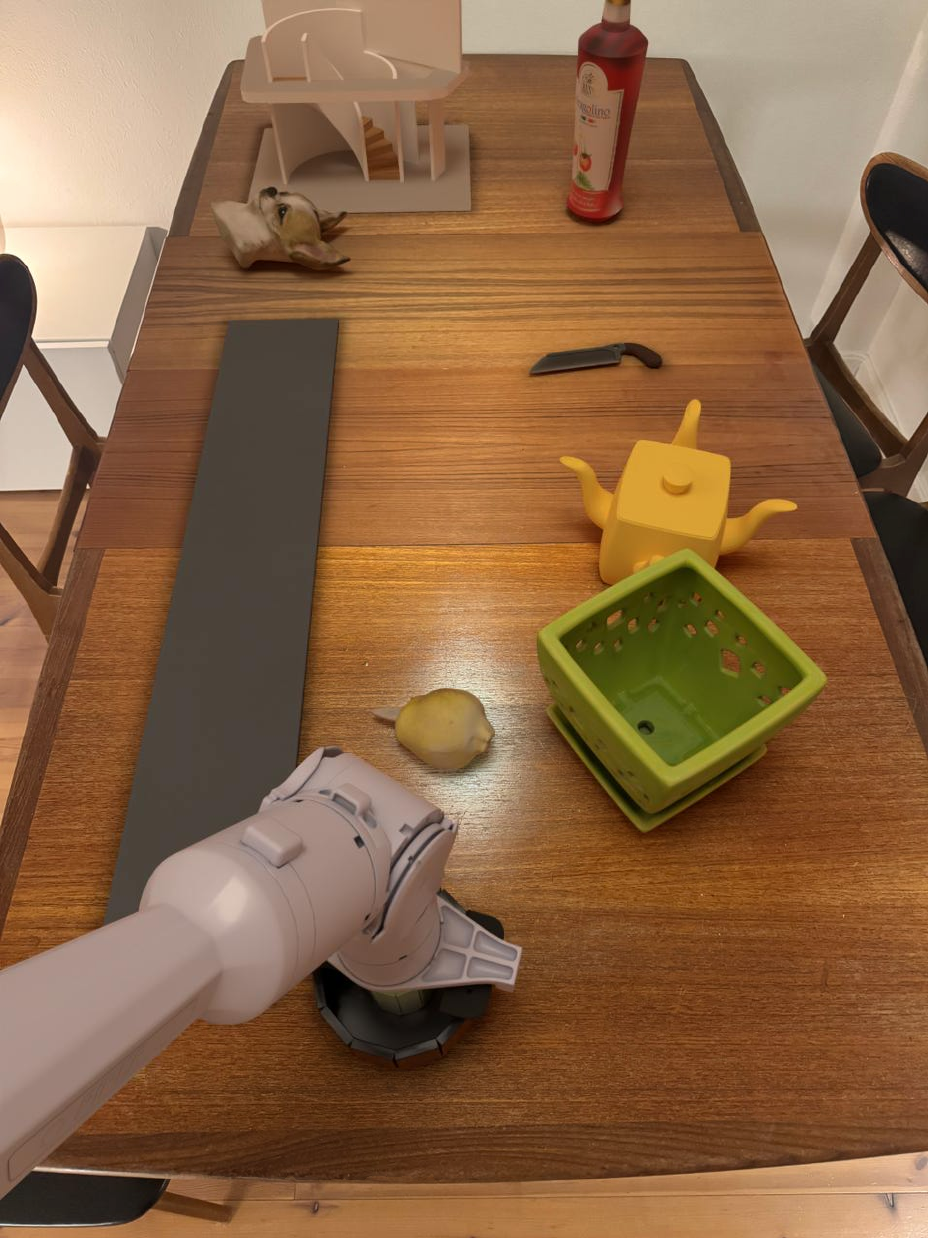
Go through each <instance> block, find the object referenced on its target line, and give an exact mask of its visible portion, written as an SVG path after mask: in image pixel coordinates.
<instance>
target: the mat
mask: <svg viewBox="0 0 928 1238" xmlns="http://www.w3.org/2000/svg"><path fill="white" fill-rule="evenodd" d="M339 328H340V319H339V318H311V319H309V318H308V319H304V318H303V319H265V320H262V319H261V320H229V321H228V324H227V329H226V334H225V339H224V343H223V348H222V353H221V358H220V362H219V367H218V372H217V376H216V382H215V387H214V392H213V395H212V396H213V397H212V401H211V405H210V411H209V415H208V420H207V424H206V429H205V435H204V438H203V445H202V448H201V453H200V458H199V463H198V468H197V473H196V478H195V483H194V487H193V491H192V497H191V502H190V507H189V512H188V515H187V520H186V526H185V530H184V534H183V535H184V536H183V539H182V545H181V549H180V554H179V559H178V565H177V569H176V574H175V579H174V583H173V588H172V593H171V596H170V603H169V607H168V613H167V616H166V617H167V618H166V622H165V627H164V632H163V637H162V641H161V646H160V652H159V654H158V655H159V656H158V660H157V665H156V671H155V675H154V680H153V684H152V689H151V695H150V699H149V702H148V703H149V704H148V708H147V714H146V718H145V723H144V728H143V733H142V737H141V742H140V747H139V752H138V756H137V762H136V766H135V771H134V775H133V781H132V785H131V789H130V795H129V799H128V800H129V801H128V805H127V810H126V814H125V819H124V824H123V827H122V833H121V838H120V844H119V848H118V853H117V858H116V863H115V867H114V872H113V877H112V881H111V887H110V891H109V896H108V900H107V905H106V910H105V915H104V916H105V917H104V920H103V925H102V927H103V926H106V925H108V924H111V923H113V922H115V921H118V920H120V919H122V918H125V917H127V916H129V915H132V914H134V913H136V912H139V906H140V902H141V899H142V895H143V892H144V889H145V886H146V884H147V882H148V880H149V878H150V877H151V875H152V874H153V872H154V871H155V869H156V868H157V867H158V866H159V865H160V864H161V863H162V862H163V861H164V860H165V859H167V858H168V857H170V856H172V855H173V854H175V853H177V852H179V851H181V850H183V849H185V848H187V847H189V846H191V845H193V844H195V843H198V842H200V841H202V840H204V839H206V838H208V837H210V836H212V835H214V834H216V833H218V832H220V831H222V830H224V829H226V828H228V827H230V826H233V825H235V824H237V823H239V822H241V821H243V820H245V819H247V818H249V817H251V816H253V815H255V814H257V813H258V812H259V809H260V806H261V804H262V801H263V799H264V798H265V797H266V796H268V795H269V794H270V793H271V791H272V790H273V789H275V788H277V787H279V786H280V785H281V784H283V783H284V782H285V781H286V780H287V779H288V778H289V776H290V775H291V774H292V773H293V772H294V771H295V769H296V768H297V767H298V760H299V749H300V739H301V730H302V729H301V728H302V719H303V710H304V709H303V707H304V699H305V698H304V697H305V696H304V695H305V686H306V676H307V666H308V655H309V644H310V634H311V633H310V632H311V623H312V612H313V602H314V593H315V592H314V590H315V583H316V571H317V570H316V569H317V559H318V551H319V550H318V549H319V537H320V529H321V528H320V527H321V526H320V525H321V519H322V509H323V508H322V506H323V497H324V485H325V475H326V465H327V456H328V455H327V454H328V444H329V435H330V433H329V432H330V424H331V412H332V411H331V410H332V401H333V392H334V383H335V381H334V380H335V370H336V359H337V350H338V349H337V348H338V339H339V330H340V329H339Z"/></svg>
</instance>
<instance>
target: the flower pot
mask: <svg viewBox="0 0 928 1238" xmlns="http://www.w3.org/2000/svg"><path fill="white" fill-rule="evenodd" d="M695 593H697V594H698V595H699V596H700V597H701V598H700V599H701V600H700V601H699V600H698V601H697V600H696V599H695V598H694V595H695ZM682 600H684V601H685V602H682ZM661 601H663V602H662V604H661V605H660V603H661ZM684 604H685V605H684ZM618 612H620V616H619V617H618V618H616V619H614V620H613V621H612V622H610V623H609V624H608V619H609V618H610V617H611V616H613V615H614V614H616V613H618ZM719 613H721V614H722V616H721V615H720V614H719ZM633 620H635V622H634V623H635V624H634V625H633V626H631V627H629V624H630V622H632V621H633ZM654 620H655V621H654ZM653 621H654V623H653V624H652V626H650V624H651V623H652V622H653ZM709 622H711V623H712V624H713V626H714V627H715V628H716V629H717V632H714V631H713V630H712V628H710V626H709V624H708V623H709ZM688 625H689V626H692V628H693V629H694V630H695V632H696V633H694V634H693V633H692V631H691V630H690V628H689V626H688ZM740 638H743V640H745V643H743V642H741V641H740ZM616 643H617V644H616ZM597 645H598V646H597ZM596 646H597V647H596ZM724 651H726V652H729V653H731V654H733V655H735V656H736V657H737V659H738V663H739V672H737V671H734V670H730V669H728V668H726V667H725V661H724V660H725V659H724V658H725V657H724ZM536 653H537V660H538V664H539V665H538V666H539V669H540V672H541V676H542V678H543V682H544V684H545V686H546V688H547V689H548V691H549V694H550V695H551V697H552V699H553V700H554V701H552V702H551V703H550V704H548V705H547V706H546V707H545V714H546V715H547V716H548V718H549V719H550V721H551V722H552V723H553V725H554V726H555V727H556V729H558V731H559V733H560V734H561V735H562V736H563V738H564V739H565V740H566V742H567V743H568V744H569V745H570V747H571V749H572V750H574V752H575V753H576V755H577V756H578V757H579V758H580V760H581V762H582V763H583V764H584V765H585V766H586V768H587V769H588V770H589V771H590V773H591V774H592V776H593V777H595V779H596V780H597V782H598V783H599V784H600V785H601V787H602V788H603V790H604V791H605V792H606V794H608V796H609V797H610V798H611V799H612V801H613V802H614V803H615V804H616V805H617V807H618V808H619V809H620V810H621V811H622V812H623V814H624V815H625V816H626V818H628V819H629V821H630V822H631V823H632V824H633V825H634V826H635V828H636V829H637V830H638V831H639V832H641V833H642V834H644V833H645V834H646V833H648V832H650V831H652V830H654V829H656V828H657V827H659V826H660V825H662V824H664V823H665V822H667V821H669V820H670V819H672V818H674V817H675V816H676V815H678V814H680V813H681V812H683V811H684V810H686V809H687V808H689V807H691V806H693V805H694V804H695V803H697V802H699V801H700V800H702V799H703V798H705V797H706V796H707V795H709V794H711V793H712V792H714V791H715V790H717V789H718V788H719V787H721V786H723V785H724V784H726V783H727V782H728V781H730V780H731V779H733V778H734V777H736V776H738V775H739V774H741V773H742V772H743V771H745V770H747V769H748V768H750V767H751V766H752V765H754V764H755V763H756V762H758V761H759V760H760V759H761V758H763V757H765V755H766V754H767V753H768V747H767V746H766V744H765V743H767V742H768V741H770V740H771V739H772V738H774V737H775V736H776V735H778V734H779V733H780V732H781V731H783V730H784V729H786V728H787V727H788V726H789V725H791V724H792V723H793V722H794V721H796V719H797V718H799V717H800V716H801V715H802V714H803V713H805V712H806V710H807V709H808V708H809V707H810V706H811V705H812V704H813V702H815V700H816V699H817V698H818V697H819V695H820V694H821V693H822V692H823V690H824V689H825V688H826V687H827V684H828V678H827V675H826V674H825V673H824V671H823V670H822V669H821V668H820V667H819V666H818V665H817V664H816V663H815V662H814V661H813V659H811V658H810V657H809V656H808V655H807V653H806V652H804V650H802V649H801V648H800V647H799V646H798V645H797V644H796V643H795V641H793V640H792V639H791V638H790V637H789V636H788V635H787V634H786V633H785V632H784V631H783V630H782V629H781V628H780V627H779V626H777V624H775V622H774V621H773V620H771V619H770V617H768V615H767V614H766V613H764V612H763V611H762V610H761V609H760V608H759V607H758V606H756V605H755V604H754V603H753V602H752V601H751V600H750V599H749V598H748V597H746V596H745V594H743V592H741V591H740V590H739V589H738V588H737V587H735V586H734V585H733V584H732V583H731V582H730V581H729V580H728V579H727V578H726V577H725V576H723V574H721V573H720V572H719V571H718V570H716V568H715V569H714V568H713V567H712V566H710V565H709V564H708V563H707V562H706V561H705V560H703V559H702V558H701V557H700V556H698V555H697V554H696V553H695V552H693V551H692V550H690V549H688V548H687V549H683V550H680V551H678V552H676V553H674V554H671V555H669V556H667V557H666V558H664V559H662V560H660V561H658V562H656V563H654V564H652V565H650V566H648V567H646V568H644V569H642V570H640V571H638V572H636V573H634V574H633V575H631V576H629V577H627V578H625V579H623V580H621V581H620V582H618V583H616V584H614V585H610V586H609V587H607V588H606V589H604V590H602V591H601V592H599V593H597V594H595V595H594V596H592V597H590V598H588V599H587V600H585V601H583V602H581V603H580V604H579V605H577V606H575V607H573V608H572V609H570V610H568V611H567V612H565V613H564V614H562V615H561V616H559V617H557V618H556V619H554V620H552V621H551V622H549V623H548V624H546V625H545V626H543V627H542V628H541V629H540V630H539V631H538V632H537V633H536ZM757 664H759V665H761V667H763V668H764V673H762V672H761V671H760V670H759V669H757V666H756V665H757ZM783 688H784V689H788V690H789V691H788V692H787V693H786V694H784V693H783ZM764 697H766V698H767V699H768V700H769V701H770V702H769V703H768V702H766V700H765V698H764Z"/></svg>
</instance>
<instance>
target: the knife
mask: <svg viewBox="0 0 928 1238" xmlns="http://www.w3.org/2000/svg"><path fill="white" fill-rule="evenodd" d="M623 353H624V354H630V355H635V356H636V357H637V358H639V359H640V360H641V361H642V362H643V363H645V364H646V365H647V366H649V367H651V368H652V367H653V368H658V367H659V366H661V365H663V358H662V356H661V355H660V354H659V353H657V352H656V351H654V350H652V349H651V348H649V347H647V346H645V345H643V344H640V343H636V342H624V343H623V342H621V343H620V342H618V343H611V344H606V345H603V346H595V347H588V348H581V349H580V348H579V349H572V350H564V351H563V350H562V351H556V352H555V351H554V352H549V353H547V354H546V355H545V356H543V357H541V358H540V359H538V361H537V362H536V363H535V364H534V365H532V366H531V368H530V369H529V371H528V374H529V375H530V374H537V373H544V372H545V373H546V372H552V371H561V370H568V369H577V368H585V367H592V366H599V365H609V364H615V363H616V364H617V363H620V362H621V361H622V354H623Z"/></svg>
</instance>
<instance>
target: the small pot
mask: <svg viewBox="0 0 928 1238" xmlns="http://www.w3.org/2000/svg"><path fill="white" fill-rule="evenodd" d="M434 989H435V988H430V989H420V990H409V991H399V992H375V991H371V990H368V991H369V993H370V994H371V996H372V997H373V999H374V1001H375V1002H376V1003H377V1004H378V1006H379V1007H381V1008H382V1009H383V1010H385V1011H387V1012H389V1013H392V1014H396V1015H406V1014H410V1013H413V1012H415V1011H417V1010H419V1009H420V1008H422V1007H423V1006H424V1005H425V1004H426V1003H427V1002H428V1001H429V999H430V998H431V996H432V994H433V992H434Z"/></svg>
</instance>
